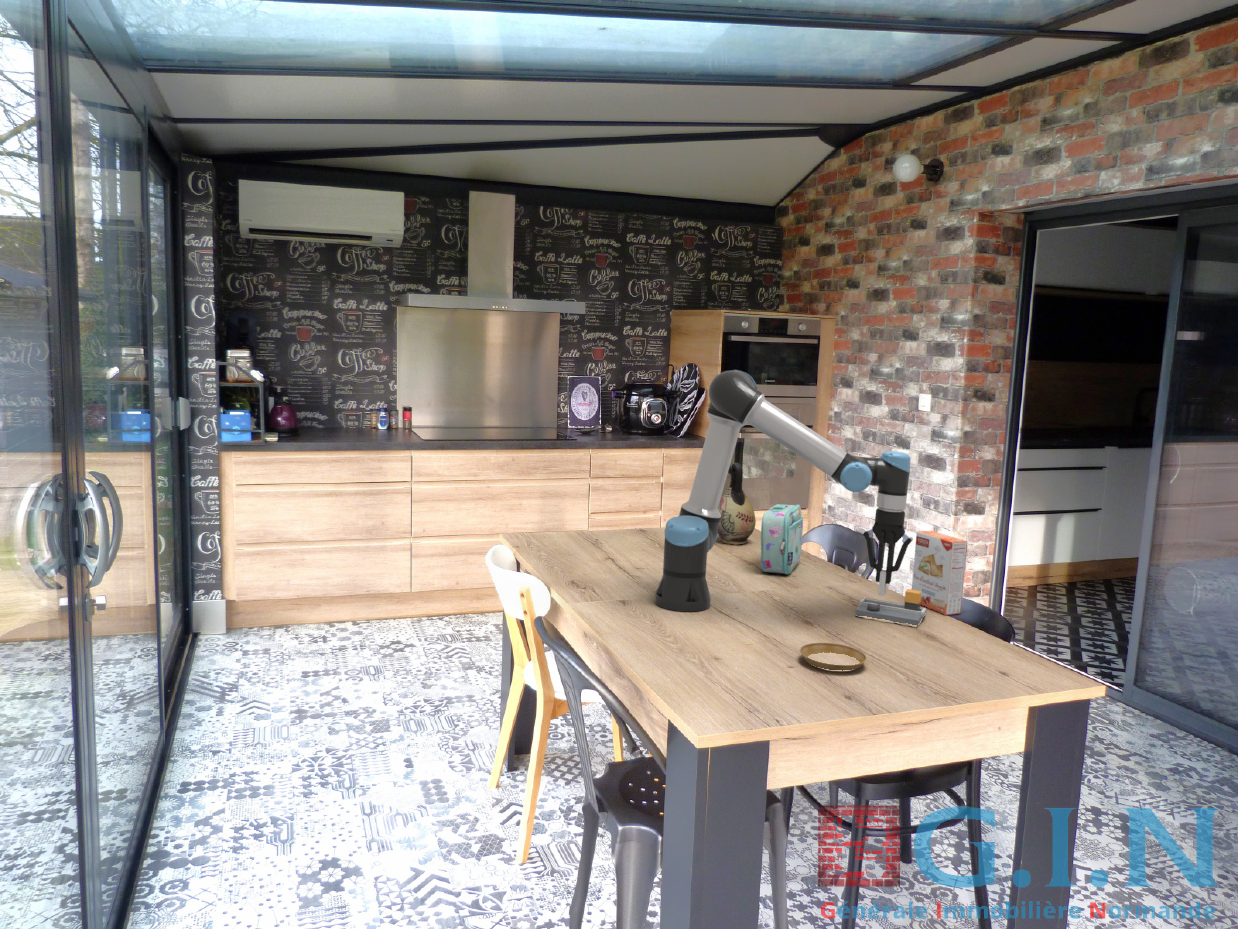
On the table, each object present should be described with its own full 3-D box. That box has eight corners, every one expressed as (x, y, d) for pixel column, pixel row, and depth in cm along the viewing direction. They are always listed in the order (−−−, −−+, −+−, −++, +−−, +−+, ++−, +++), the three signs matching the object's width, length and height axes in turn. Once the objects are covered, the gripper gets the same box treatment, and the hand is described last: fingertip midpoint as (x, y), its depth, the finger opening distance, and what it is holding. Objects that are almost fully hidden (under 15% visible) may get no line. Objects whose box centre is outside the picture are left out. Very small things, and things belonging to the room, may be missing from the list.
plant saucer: (879, 674, 194) (880, 662, 194) (819, 678, 190) (820, 666, 190) (844, 651, 208) (844, 641, 208) (787, 655, 204) (788, 644, 204)
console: (918, 628, 229) (920, 614, 228) (853, 616, 236) (854, 603, 236) (927, 615, 241) (928, 602, 240) (865, 604, 249) (866, 591, 248)
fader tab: (917, 612, 235) (919, 593, 234) (903, 610, 236) (905, 591, 236) (919, 610, 237) (921, 591, 237) (906, 607, 239) (907, 589, 238)
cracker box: (909, 602, 254) (915, 530, 251) (925, 600, 256) (931, 529, 253) (944, 616, 241) (951, 541, 238) (961, 614, 243) (968, 540, 241)
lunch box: (789, 580, 273) (794, 511, 270) (756, 575, 276) (761, 508, 273) (802, 562, 298) (807, 499, 295) (771, 558, 301) (776, 496, 298)
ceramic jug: (707, 537, 331) (712, 458, 327) (748, 538, 333) (753, 459, 329) (717, 547, 314) (723, 464, 310) (760, 548, 316) (765, 465, 312)
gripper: (918, 510, 237) (908, 595, 240) (869, 504, 243) (860, 587, 246) (913, 514, 231) (903, 602, 234) (863, 507, 237) (854, 593, 240)
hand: (881, 594), depth 240 cm, fingers closed
